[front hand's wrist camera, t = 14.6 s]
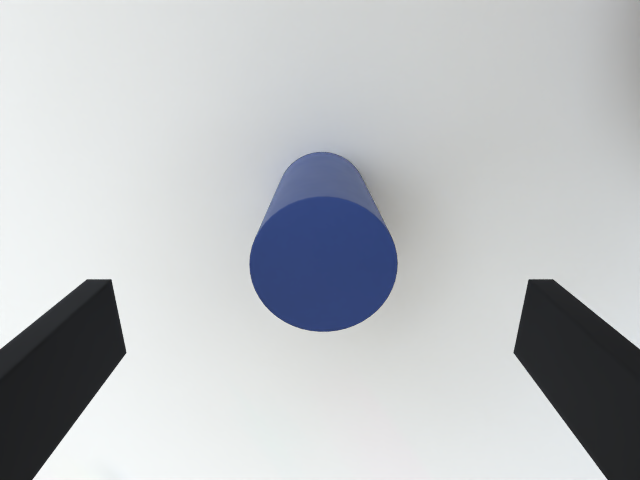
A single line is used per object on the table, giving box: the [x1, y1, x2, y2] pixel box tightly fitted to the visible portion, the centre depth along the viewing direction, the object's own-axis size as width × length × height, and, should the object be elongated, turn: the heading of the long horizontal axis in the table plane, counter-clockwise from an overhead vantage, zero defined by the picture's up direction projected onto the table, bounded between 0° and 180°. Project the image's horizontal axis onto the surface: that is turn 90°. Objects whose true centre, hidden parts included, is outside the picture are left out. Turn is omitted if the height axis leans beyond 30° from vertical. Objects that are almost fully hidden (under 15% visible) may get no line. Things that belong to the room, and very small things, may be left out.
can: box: [249, 152, 398, 332], centre depth 22 cm, size 6×6×12 cm
